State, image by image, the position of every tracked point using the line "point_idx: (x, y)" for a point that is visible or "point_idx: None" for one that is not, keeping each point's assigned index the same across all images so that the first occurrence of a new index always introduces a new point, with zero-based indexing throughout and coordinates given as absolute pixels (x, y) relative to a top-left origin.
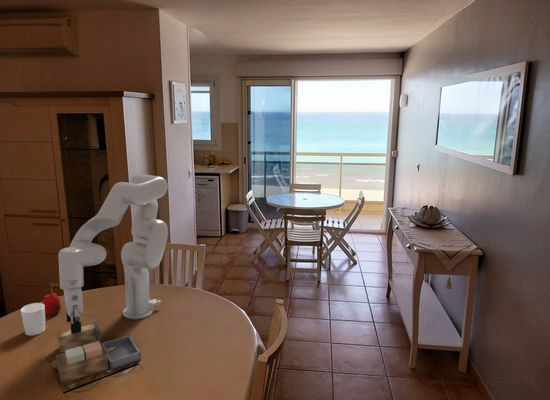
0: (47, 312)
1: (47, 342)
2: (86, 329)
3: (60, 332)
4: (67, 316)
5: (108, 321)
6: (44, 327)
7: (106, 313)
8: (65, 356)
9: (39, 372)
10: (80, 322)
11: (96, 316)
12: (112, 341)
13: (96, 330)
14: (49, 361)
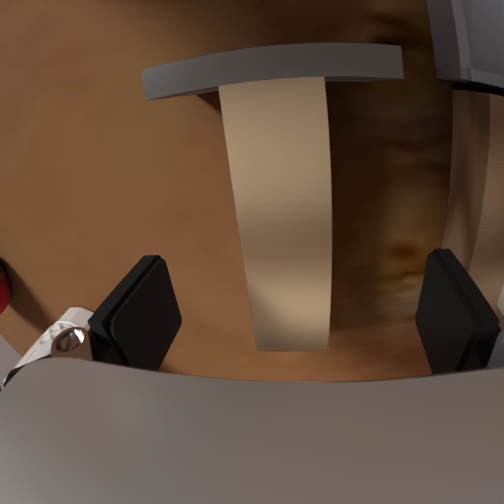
0: (2, 298)
1: (191, 316)
2: (310, 159)
3: (257, 337)
4: (161, 362)
5: (75, 19)
6: (82, 318)
7: (7, 51)
8: (500, 307)
9: (424, 349)
10: (490, 316)
11: (15, 95)
12: (460, 8)
13: (383, 76)
14: (374, 322)
